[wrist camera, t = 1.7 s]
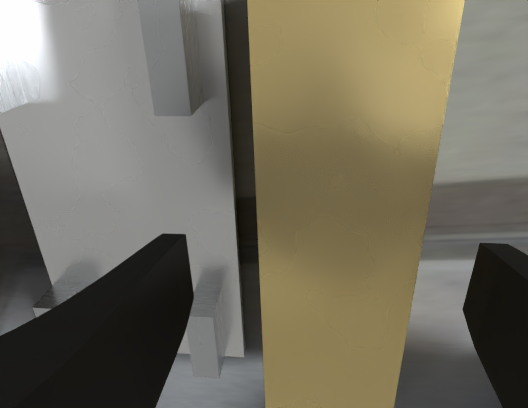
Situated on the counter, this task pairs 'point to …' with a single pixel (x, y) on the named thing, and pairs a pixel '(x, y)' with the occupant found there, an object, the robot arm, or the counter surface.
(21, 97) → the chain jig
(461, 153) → the counter surface
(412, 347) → the counter surface
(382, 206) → the brass plaque on stand
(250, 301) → the counter surface
